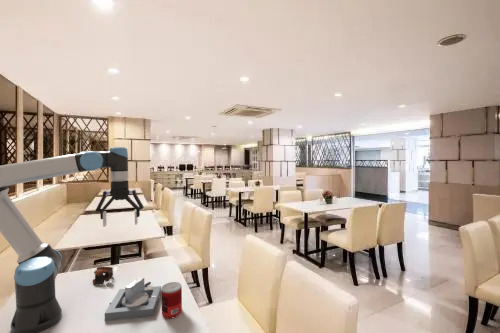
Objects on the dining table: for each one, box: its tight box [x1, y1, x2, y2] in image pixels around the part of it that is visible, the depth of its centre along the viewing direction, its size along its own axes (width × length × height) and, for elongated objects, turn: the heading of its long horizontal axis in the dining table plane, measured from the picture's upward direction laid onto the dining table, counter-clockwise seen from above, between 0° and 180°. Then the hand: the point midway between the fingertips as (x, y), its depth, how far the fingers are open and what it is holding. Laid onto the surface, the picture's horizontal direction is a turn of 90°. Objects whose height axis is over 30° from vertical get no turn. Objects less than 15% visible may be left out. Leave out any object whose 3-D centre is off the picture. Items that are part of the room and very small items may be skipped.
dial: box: [122, 276, 149, 308], centre depth 112 cm, size 10×10×9 cm
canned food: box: [160, 281, 183, 319], centre depth 107 cm, size 8×8×11 cm
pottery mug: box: [92, 266, 114, 285], centre depth 134 cm, size 12×10×8 cm
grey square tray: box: [104, 285, 162, 322], centre depth 112 cm, size 18×18×3 cm
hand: (120, 224), depth 125 cm, fingers open, 13 cm apart
